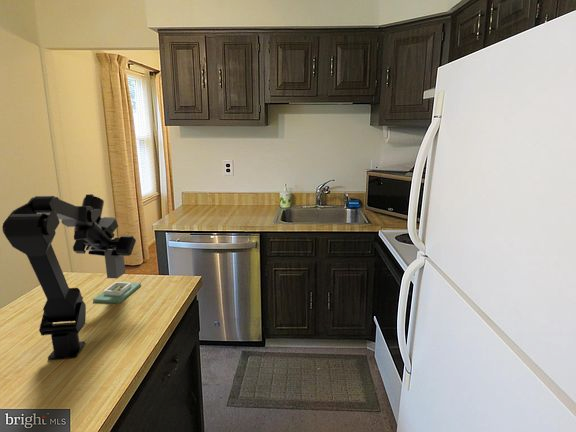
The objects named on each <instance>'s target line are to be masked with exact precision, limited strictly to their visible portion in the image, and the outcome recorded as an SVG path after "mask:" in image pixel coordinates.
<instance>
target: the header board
mask: <svg viewBox="0 0 576 432" xmlns="http://www.w3.org/2000/svg"><path fill="white" fill-rule="evenodd" d="M141 286H142V284H141V282H130V281H129V282H127V281H114V283H112V284H111V285H109V286H108V287H107V288H105V289H104V290H103V291H102V292H101V293H100V294H98V295H96V296H95V297H94V298H92V302H93V303H104V304H121V303H122V302H124V300H125V299H127V298H128V297H129V296H131V294H133V293H134V292H135V291H136V290H138V288H140V287H141Z"/></svg>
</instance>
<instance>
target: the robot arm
mask: <svg viewBox="0 0 576 432" xmlns="http://www.w3.org/2000/svg"><path fill="white" fill-rule="evenodd" d="M104 201H105V200H104V199H102V198H100V197H98V196H95V195H94V194H85V197H84V198H83V200H82V204H81V205H79V206H78V205H74V204H72V203H69V202H67V201H64V200H62V199H60V198H59V197H58V196H55V195H36V196H33V197H31V198H30V199H29V201H28V202H27V203H25V204H23V205H21V206H19V207H17V208H15V209H14V210H12V212H10V214H9V215H8V216H7V218H6V219H5V220H4V222H3V223H2V227H1V228H2V233H3V234H4V237H5V238H6V240H7V241H8V242H9V244H10V245H11V246H12V248H14V249H16V250H17V251H19V252H20V253H22V254H24V255H26V256H27V258H28V261H29V263H30V265H31V268H32V270H33V272H34V274H35V276H36V278H37V281H38V284H39V285H40V287H41V289H42V291H43V294H44V295H45V298H46V301H45V304H44V305H43V308H42V309H43V314H42V318H41V322H40V325H39V329H38V330H39V334H40V336H48V335H49V336H51V343H52V351H51V353H50V354H49V355H48V357H47V359H48V360H49V361H50V360H60V359H61V360H62V359H73V358H76V357H78V356H79V354H80V352H81V351H82V349H83V348H84V346H85V345H86V341H85V340H84V341H80V336H79V333H80V332H81V331H82V329H83V328H84V326H85V325H86V319H87V317H86V315H87V314H86V313H87V311H86V310H87V307H86V303H85V302H84V297H83V296H82V294H81V290H80V289H79V287H69V285H68V282H67V280H66V277H65V275H64V272H63V270H62V267H61V265H60V262H59V260H58V258H57V255H56V253H55V250H54V248H53V245H52V242H53V240H54V238H55V236H56V230H57V229H58V227H59V225H60V220H61V224H62V225H64V226H65V227H67V228H68V227H69V228H72V227H74V228H73V229H74V234H73V239H74V241H75V242H73V245H72V250H73V252H75V253H76V254H83V255H84V254H86V252H87V251H88V255H90V256H91V255H92V256H101V257H105V254H104V251H107V250H108V249H109V250H113V251H112V253H111V256H116V257H122V256H124V257H125V256H126V257H127V256H131V255H132V253H133V250H134V247H135V244H136V241H137V240H136V238H135V237H134V236H133V235H121V236H119V237H115V233H114V232H115V231H116V229H118V227H119V225H118V221H117V219H116V218H115V217H108V216H107V217H106V216H104V217H102V214H103V208H104V204H105V202H104Z"/></svg>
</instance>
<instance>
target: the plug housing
mask: <svg viewBox="0 0 576 432" xmlns="http://www.w3.org/2000/svg"><path fill="white" fill-rule="evenodd" d="M112 251H113V250H109V249H108V250H107V251H104V254H105V256H104V262H105V270H106V278H107V279H119V278H120V277H122V276H123V275H124V274H125V273H126V268H125V267H126V266H125V256H122V257H116V256H111V253H112Z"/></svg>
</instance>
